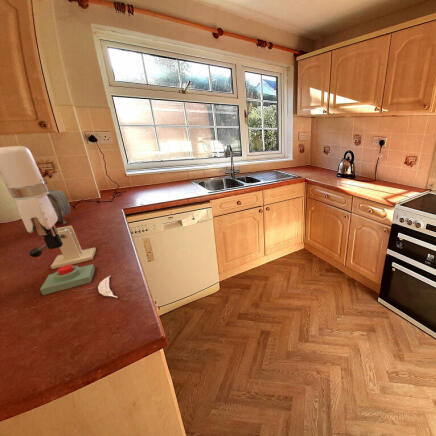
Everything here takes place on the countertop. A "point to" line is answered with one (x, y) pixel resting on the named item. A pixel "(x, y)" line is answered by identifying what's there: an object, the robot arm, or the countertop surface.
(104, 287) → the pea pod
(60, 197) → the tabletop clock
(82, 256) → the bracket
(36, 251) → the lever
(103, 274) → the countertop surface
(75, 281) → the button box
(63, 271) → the button
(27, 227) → the robot arm
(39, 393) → the countertop surface
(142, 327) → the countertop surface
